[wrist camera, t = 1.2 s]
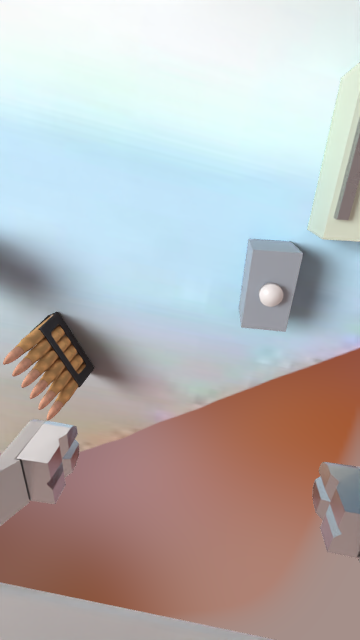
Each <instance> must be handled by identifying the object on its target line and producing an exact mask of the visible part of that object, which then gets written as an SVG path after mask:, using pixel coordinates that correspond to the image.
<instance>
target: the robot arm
mask: <svg viewBox="0 0 360 640" xmlns="http://www.w3.org/2000/svg"><path fill="white" fill-rule="evenodd" d="M77 434H78V433H77V427H76V426H73V425H67V424H62V423H56V422H50V421H43V420H37V419H33V420H31V421H29V422H28V423H27V425H26V426H25V427H24V428H23V429H22V430H21V432H20V433H19V434H18V435H17V436H16V438H15V439H14V440H13V441H12V442H11V444H10V445H9V446H8V447H7V448H6V450H5V451H4V452H3V453H2V454H1V455H0V526H1V525H2V524H3V523H5V522H6V521H7V520H8V519H10V518H11V517H12V516H13V515H15V514H16V513H17V512H18V511H19V510H21V509H22V508H23V507H24V506H26V505H27V504H28V503H29V500H30V501H38V502H44V503H51V504H56V501H57V500H58V498H59V496H60V494H61V492H62V491H63V489H64V487H65V485H66V484H65V477H66V476H68V475H70V474H71V473H72V472H73V470H74V468H75V466H76V463H77V460H78V456H79V443H78V442H77V441H76V440H75V438H76V436H77ZM319 473H320V476H321V477H319V478H317V479H316V480H315V482H314V485H313V503H314V507H315V511H316V513H317V514H318V515H319V517H320V518H321V519H322V520H323V522H322V525H321V527H320V529H321V532H322V536H323V539H324V542H325V545H326V549H327V552H331V553H335V554H340V555H345V556H350V557H355V558H359V559H358V560H359V562H360V467H356V466H350V465H343V464H335V463H328V462H323V463H322V464H321V465H320V468H319ZM0 640H275V639H270V638H266V637H261V636H255V635H251V634H246V633H241V632H236V631H232V630H227V629H222V628H217V627H212V626H207V625H203V624H198V623H193V622H188V621H184V620H179V619H174V618H169V617H164V616H159V615H154V614H150V613H145V612H140V611H135V610H131V609H125V608H121V607H116V606H111V605H106V604H101V603H96V602H91V601H87V600H82V599H77V598H73V597H67V596H63V595H58V594H53V593H48V592H43V591H38V590H34V589H29V588H24V587H19V586H15V585H10V584H5V583H0Z"/></svg>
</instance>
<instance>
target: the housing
mask: <svg viewBox="0 0 360 640" xmlns="http://www.w3.org/2000/svg"><path fill="white" fill-rule="evenodd" d="M302 257H303V253H302V252H301V251H300V250H299V249H298V248H297V247H296V246H295V245H294V244H293V243H292V242H290V241H275V240H260V239H248V246H247V253H246V260H245V267H244V274H243V282H242V289H241V296H240V303H239V312H240V321H241V327H242V328H253V329H263V330H273V331H284V332H286V327H287V323H288V318H289V314H290V310H291V305H292V301H293V296H294V292H295V288H296V283H297V279H298V274H299V270H300V266H301V261H302Z"/></svg>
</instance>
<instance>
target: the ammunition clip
mask: <svg viewBox="0 0 360 640" xmlns="http://www.w3.org/2000/svg"><path fill="white" fill-rule="evenodd" d="M36 344H37V345H36ZM35 345H36V346H35ZM34 346H35V347H34ZM33 347H34V348H33ZM30 349H31V350H30ZM29 350H30V351H29ZM27 351H29V353H28V354H27V356H26V357H25V358H24V359H23V360H22V361H21V362H20V363H19V364H18V365H17V367H16V368H15V370H14V371H13V374H12V376H17V375H19V374H21V373H22V372H24V371H25V370H27V369H28V368H29V367H30V366H31V365H32V364H34V363H35V362H36V361H38V360H39V359H40V360H39V361H38V362H37V363H36V365H35V366H34V368H33V369H32V370H31V371H30V372H29V373H28V375H27V376H26V377H25V379H24V381H23V383H22V385H21V387H22V388H24V387H26V386H28V385H30V384H31V383H32V382H34V381H35V380H36V379H37V378H38V377H39V376H40V375H41V374H42V373H43V372H45V371H46V370H47V371H46V372H45V373H44V375H43V377H42V378H41V379H40V381H39V382H38V383H37V384H36V386H35V387H34V389H33V390H32V392H31V395H30V399H32V398H35V397H36V396H38V395H39V394H40V393H41V392H43V391H44V389H45V388H46V387H47V386H48V385H49V384H50V383H51V382H53V383H52V384H51V386H50V388H49V390H48V391H47V393H46V394H45V395H44V397H43V398H42V400H41V402H40V404H39V410H41V409H43V408H44V407H46V406H47V405H48V404H49V403H50V402H51V401H52V400H53V399H54V397H55V396H56V395H57V394H58V393H59V392H60V391H61V392H60V393H59V395H58V397H57V399H56V401H55V402H54V404H53V405H52V407H51V408H50V410H49V412H48V415H47V420H50V419H51V418H53V417H54V416H55V415H56V414H57V413H58V412H59V411H60V409H61V408H62V407H63V406H64V404H65V403H66V402H67V401H68V400H69V399H70V398H71V396H72V395H73V394H74V392H75V391H76V389H77V388H78V387H80V386H81V385H82V384H83V382H84V381H85V380H86V378H87V377H88V376H89V375H90V373H91V372H92V371H93V369H94V366H93V365H92V363H91V362H90V360H89V358H88V357H87V355H86V354H85V352H84V351H83V349H82V348H81V346H80V345H79V343H78V342H77V340H76V338H75V337H74V335H73V334H72V332H71V331H70V329H69V328H68V326H67V325H66V323H65V322H64V320H63V318H62V317H61V315H60V314H59V312H55V313H53V314H51V315H48V316H47V317H46V318H45V319H44V320H43V321H42V322H41V323H40V324H39V325H37V326H36V327H35V328H34V329H33V330H32V331H31V332H30V333H29V334H28V335H27V336H26V337H25V338H23V339H22V340H21V341H20V343H19V344H18V345H17V346H16V347H15V348H14V349H13V350H12V351H11V352H10V353H9V354H8V355H7V356H6V358H5V359H4V362H3V364H4V365H5V364H9V363H11V362H13V361H14V360H16V359H17V358H19V357H20V356H21V355H23V354H24V353H25V352H27Z"/></svg>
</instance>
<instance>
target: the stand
mask: <svg viewBox="0 0 360 640" xmlns="http://www.w3.org/2000/svg"><path fill="white" fill-rule="evenodd" d="M307 230H309V231H310V232H312V233H314V234H315V235H317V236H318V237H320V238H321V239H327V240H343V241H358V242H360V62H359V63H358V64H357V65H356V66H355V67H354V68H352V69H351V70H350V71H349V72H348V73H346V74H345V75H344V76H343V77H342V78H341V81H340V85H339V90H338V94H337V99H336V103H335V108H334V112H333V116H332V121H331V125H330V130H329V134H328V139H327V143H326V148H325V152H324V157H323V161H322V165H321V170H320V174H319V179H318V183H317V188H316V192H315V197H314V201H313V205H312V210H311V214H310V219H309V223H308V228H307Z"/></svg>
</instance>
